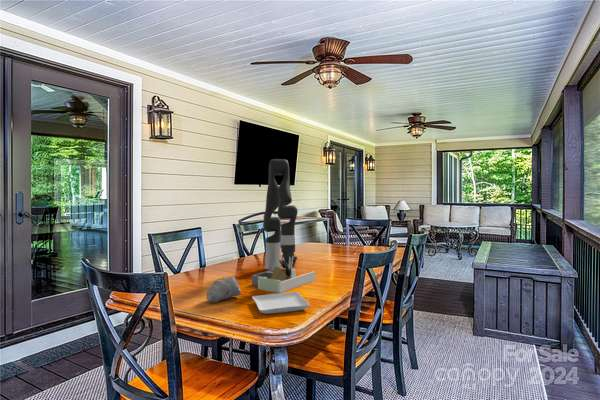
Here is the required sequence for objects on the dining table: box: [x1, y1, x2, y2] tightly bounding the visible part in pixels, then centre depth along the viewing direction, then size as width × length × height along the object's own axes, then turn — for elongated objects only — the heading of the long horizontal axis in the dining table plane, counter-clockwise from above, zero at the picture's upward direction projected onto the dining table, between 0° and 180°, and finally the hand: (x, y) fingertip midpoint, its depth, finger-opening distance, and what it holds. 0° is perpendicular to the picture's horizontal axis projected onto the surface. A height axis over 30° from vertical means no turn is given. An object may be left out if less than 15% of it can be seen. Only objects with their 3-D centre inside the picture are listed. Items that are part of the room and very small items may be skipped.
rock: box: [271, 267, 289, 281], centre depth 197 cm, size 11×9×10 cm
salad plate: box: [251, 291, 310, 315], centre depth 162 cm, size 21×21×3 cm
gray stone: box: [205, 276, 242, 304], centre depth 174 cm, size 16×15×10 cm
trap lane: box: [251, 267, 316, 294], centre depth 204 cm, size 23×31×6 cm
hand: (288, 275), depth 201 cm, fingers closed
